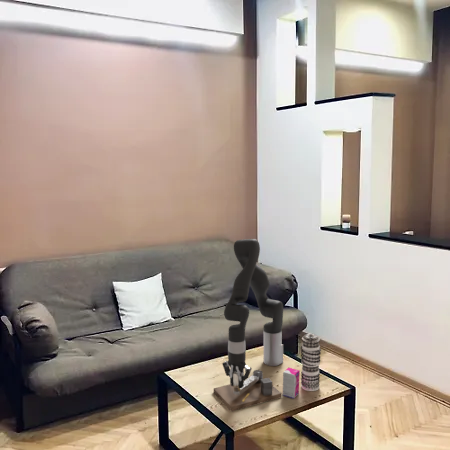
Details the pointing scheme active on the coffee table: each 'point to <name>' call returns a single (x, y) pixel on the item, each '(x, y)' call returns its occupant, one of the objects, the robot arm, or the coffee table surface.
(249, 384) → the lever
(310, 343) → the white patterned cylinder
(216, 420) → the coffee table surface
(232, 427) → the coffee table surface
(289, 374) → the supplement box
